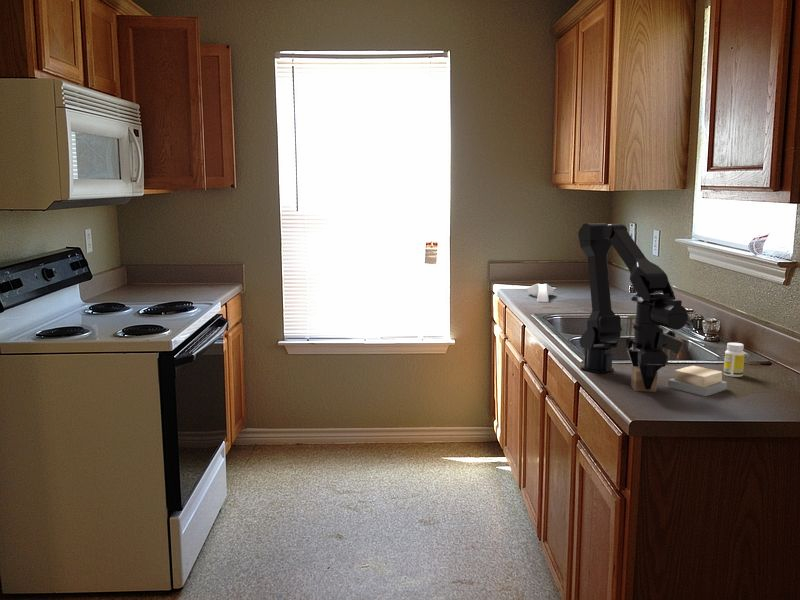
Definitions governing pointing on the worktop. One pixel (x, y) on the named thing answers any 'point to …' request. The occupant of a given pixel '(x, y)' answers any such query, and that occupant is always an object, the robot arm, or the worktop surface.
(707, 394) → the grey base block
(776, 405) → the worktop surface
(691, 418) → the worktop surface
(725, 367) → the supplement bottle
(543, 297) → the spoon rest
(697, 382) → the birch top block
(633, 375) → the walnut cube
